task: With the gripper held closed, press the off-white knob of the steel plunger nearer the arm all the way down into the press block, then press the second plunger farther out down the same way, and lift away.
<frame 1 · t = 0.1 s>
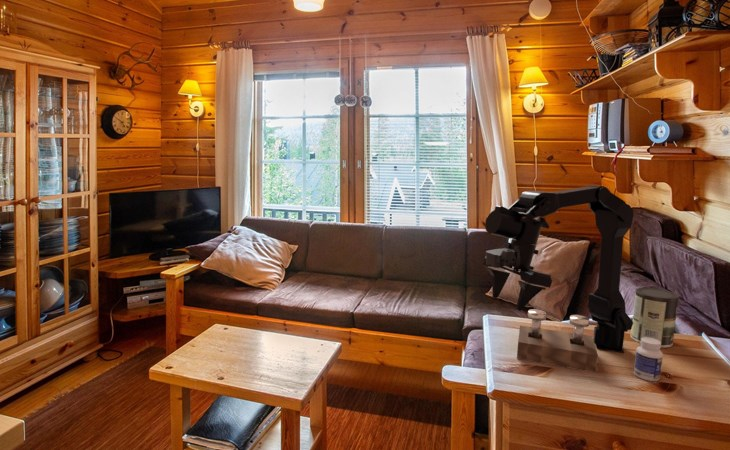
hand: (506, 303, 105), 15 cm above the table, tool pointing down, fingers open, 9 cm apart
press block: (554, 355, 112), on the table
near plunger: (578, 329, 109), point 8 cm above the table, slide at 0.0 cm
pill bottle: (646, 376, 102), on the table
far plunger: (536, 323, 113), point 8 cm above the table, slide at 0.0 cm
coffee can: (650, 340, 123), on the table
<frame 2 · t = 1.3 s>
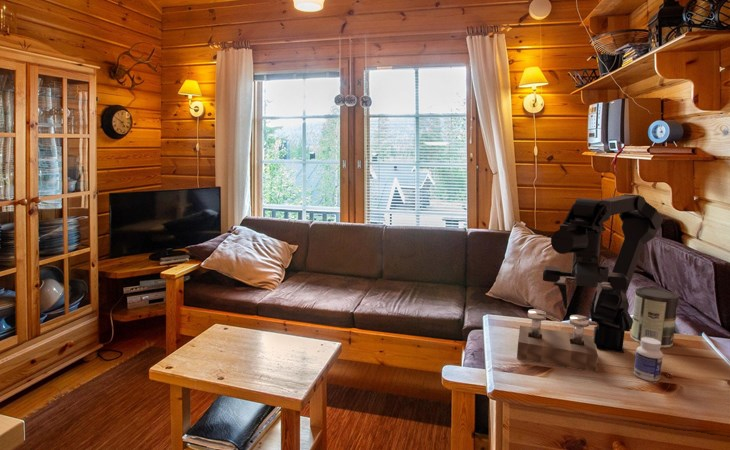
hand: (580, 310, 109), 13 cm above the table, tool pointing down, fingers open, 6 cm apart
nothing on the table moved.
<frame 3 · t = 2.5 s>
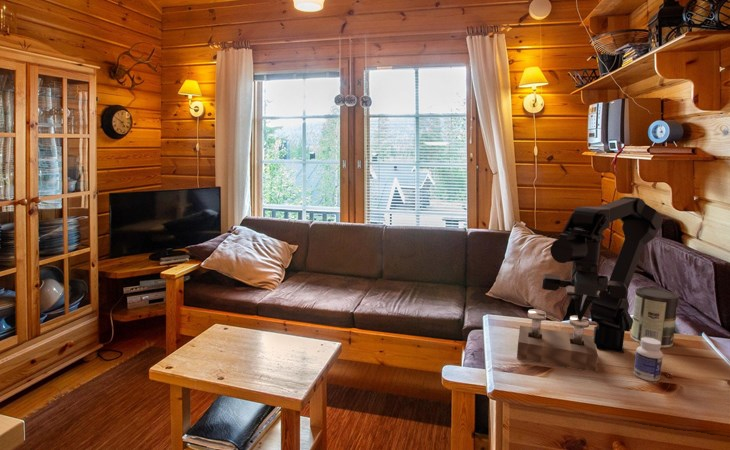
hand: (579, 318, 109), 11 cm above the table, tool pointing down, fingers closed, pressing on near plunger
near plunger: (578, 330, 109), point 8 cm above the table, slide at 0.2 cm, touching gripper
everything else where it was.
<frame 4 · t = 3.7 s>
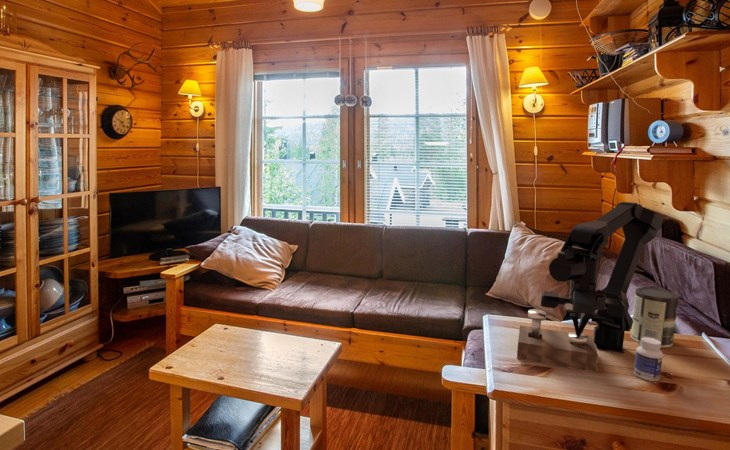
hand: (578, 335, 110), 6 cm above the table, tool pointing down, fingers closed, pressing on near plunger
near plunger: (576, 347, 110), point 3 cm above the table, slide at 4.7 cm, touching gripper
everything else where it was.
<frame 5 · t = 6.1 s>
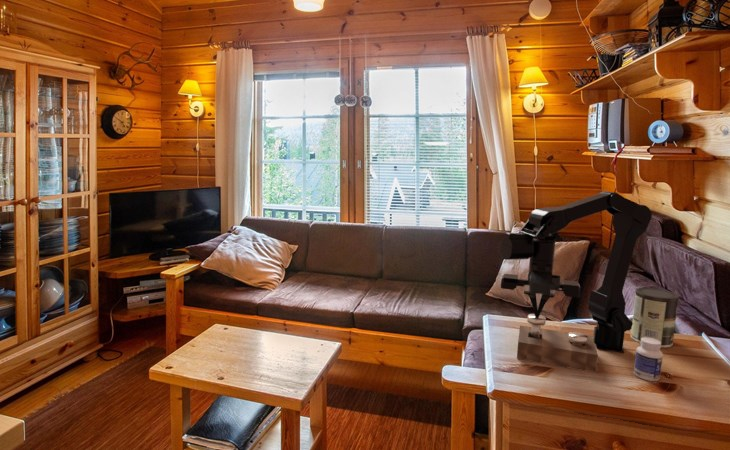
hand: (536, 316, 113), 10 cm above the table, tool pointing down, fingers closed, pressing on far plunger
near plunger: (576, 346, 110), point 3 cm above the table, slide at 4.6 cm
far plunger: (535, 328, 113), point 7 cm above the table, slide at 1.3 cm, touching gripper
everything else where it was.
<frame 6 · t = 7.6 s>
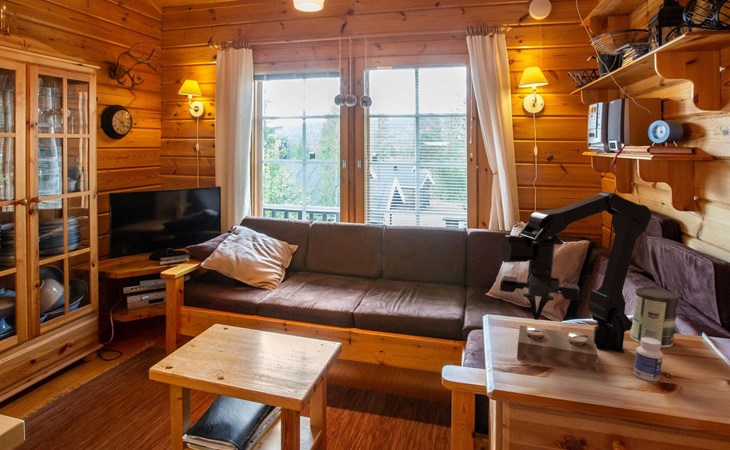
hand: (536, 319, 113), 9 cm above the table, tool pointing down, fingers closed
far plunger: (534, 340, 114), point 3 cm above the table, slide at 4.6 cm
everything else where it was.
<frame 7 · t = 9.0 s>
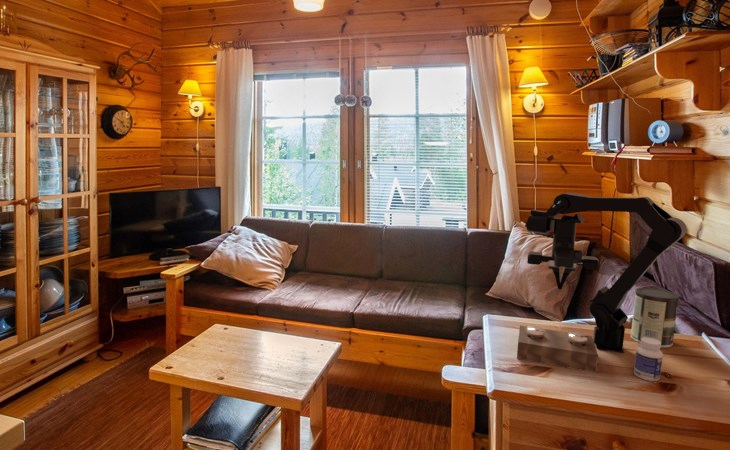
hand: (559, 289, 126), 13 cm above the table, tool pointing down, fingers closed
nothing on the table moved.
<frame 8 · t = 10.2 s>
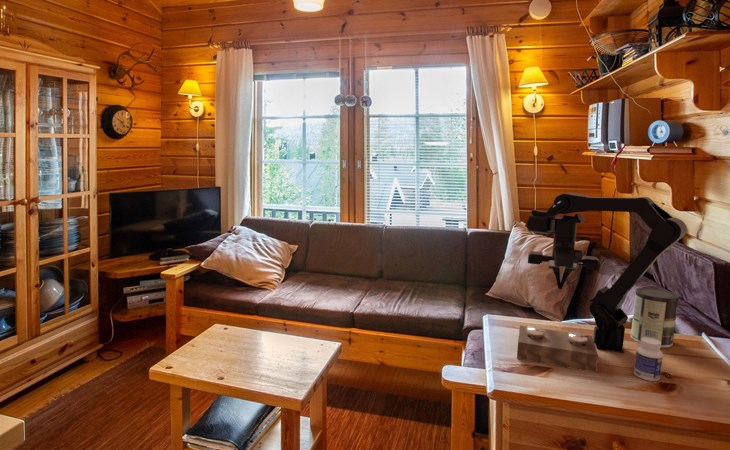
hand: (559, 288, 127), 13 cm above the table, tool pointing down, fingers closed
nothing on the table moved.
at the end: near plunger slide at 4.6 cm; far plunger slide at 4.6 cm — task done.
